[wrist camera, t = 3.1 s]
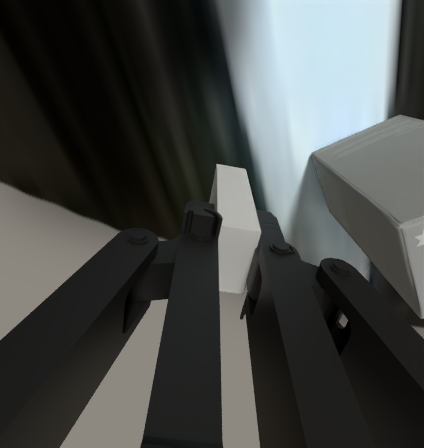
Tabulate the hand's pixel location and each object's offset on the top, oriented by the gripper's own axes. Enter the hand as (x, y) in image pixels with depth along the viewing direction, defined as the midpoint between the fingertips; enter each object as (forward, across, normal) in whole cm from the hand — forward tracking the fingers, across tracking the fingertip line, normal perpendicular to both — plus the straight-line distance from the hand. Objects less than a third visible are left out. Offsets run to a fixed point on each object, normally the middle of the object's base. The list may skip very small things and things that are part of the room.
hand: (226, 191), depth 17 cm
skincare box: (+13, +13, 0) cm, 19 cm away
